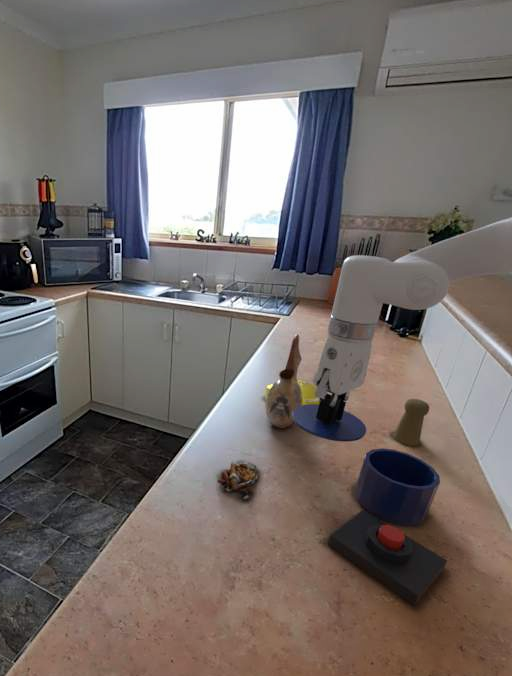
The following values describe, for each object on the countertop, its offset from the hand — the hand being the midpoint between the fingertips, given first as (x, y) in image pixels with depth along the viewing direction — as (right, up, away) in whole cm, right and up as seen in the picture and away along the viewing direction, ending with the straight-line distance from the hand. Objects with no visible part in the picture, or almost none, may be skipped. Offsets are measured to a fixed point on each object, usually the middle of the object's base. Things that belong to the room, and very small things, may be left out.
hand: (328, 418), depth 77 cm
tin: (+13, -17, +2) cm, 21 cm away
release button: (+5, -19, -12) cm, 23 cm away
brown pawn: (+31, -8, +25) cm, 40 cm away
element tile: (+8, -1, +40) cm, 41 cm away
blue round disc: (0, -1, 0) cm, 1 cm away
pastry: (-16, -14, +6) cm, 22 cm away
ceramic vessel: (-1, -5, +29) cm, 30 cm away
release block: (+5, -22, -11) cm, 25 cm away
